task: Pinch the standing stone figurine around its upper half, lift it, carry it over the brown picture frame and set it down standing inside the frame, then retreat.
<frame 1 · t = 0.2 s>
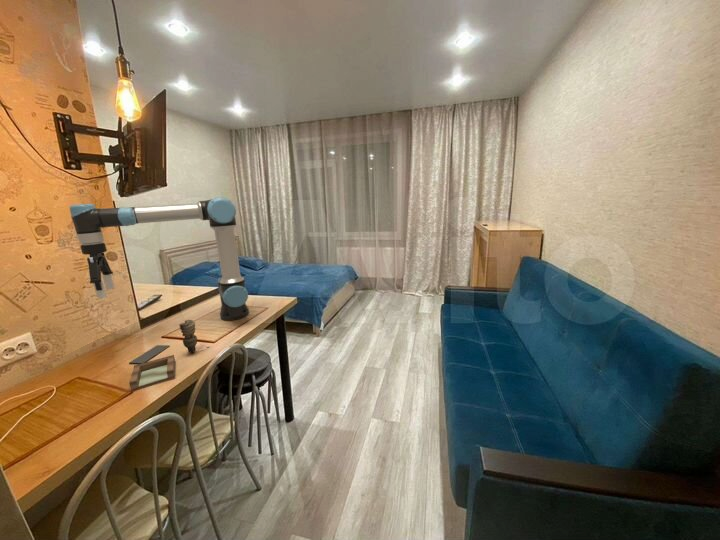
hand: (106, 293, 122), 28 cm above the table, fingers open, 13 cm apart
brown picture frame: (155, 375, 109), on the table
smartphone: (150, 355, 126), on the table
stone figurine: (193, 353, 125), on the table
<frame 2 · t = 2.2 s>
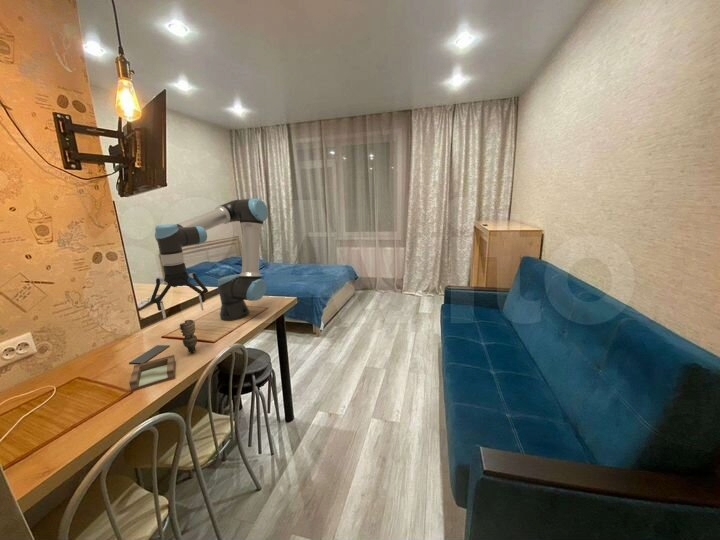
hand: (184, 313, 120), 18 cm above the table, fingers open, 13 cm apart
nothing on the table moved.
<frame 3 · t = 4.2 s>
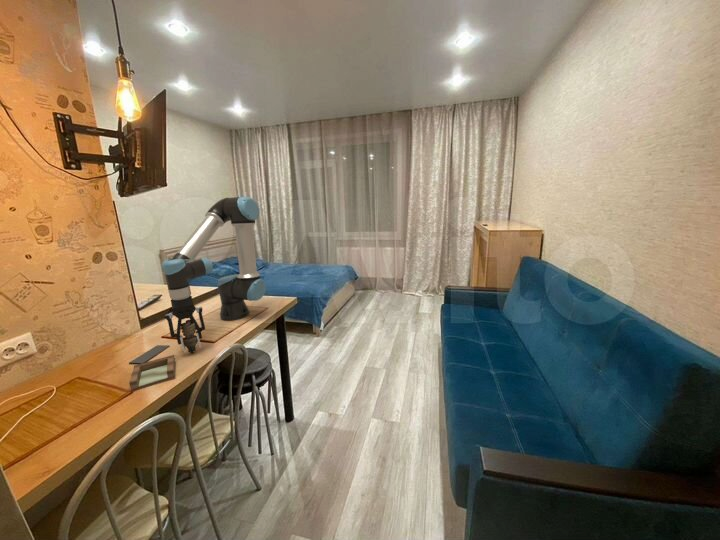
hand: (192, 348, 124), 2 cm above the table, fingers closed on stone figurine, 5 cm apart
stone figurine: (193, 353, 125), on the table, touching gripper
everything else where it was.
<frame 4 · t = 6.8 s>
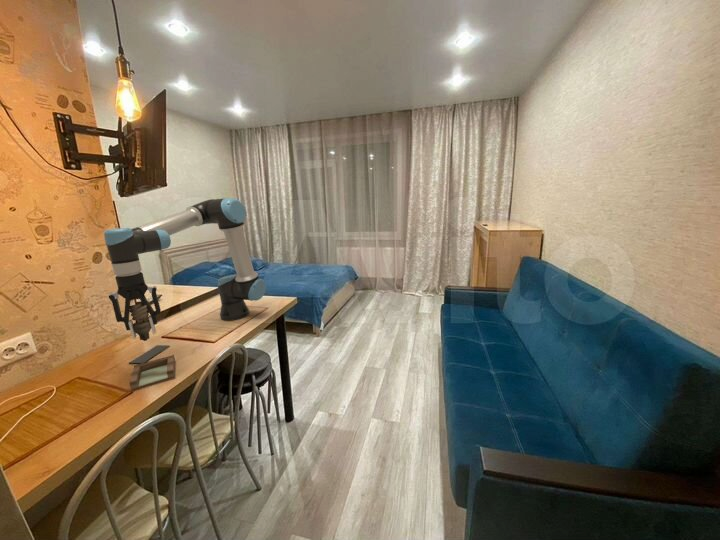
hand: (144, 335, 105), 17 cm above the table, fingers closed on stone figurine, 5 cm apart
stone figurine: (146, 341, 106), point 14 cm above the table, touching gripper
everything else where it was.
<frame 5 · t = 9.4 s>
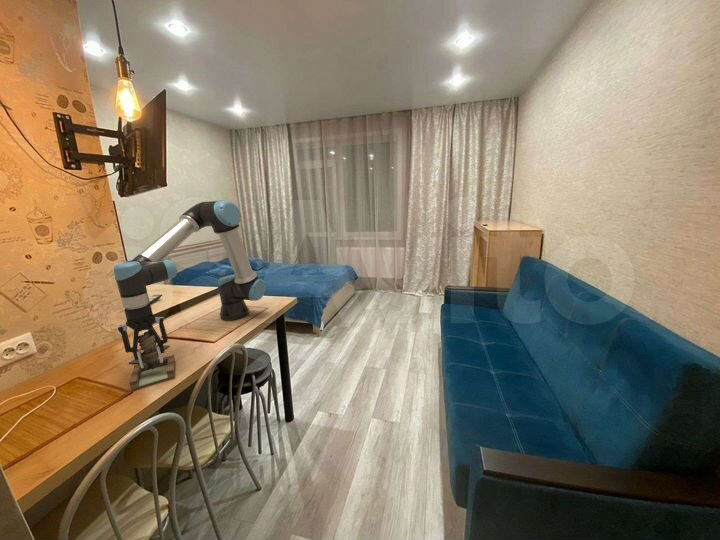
hand: (152, 363, 108), 5 cm above the table, fingers closed on stone figurine, 5 cm apart
stone figurine: (154, 369, 109), point 3 cm above the table, touching gripper
everything else where it was.
when the fingers open (5 cm above the table, at t = 9.5 s): stone figurine drops 2 cm, resting on brown picture frame.
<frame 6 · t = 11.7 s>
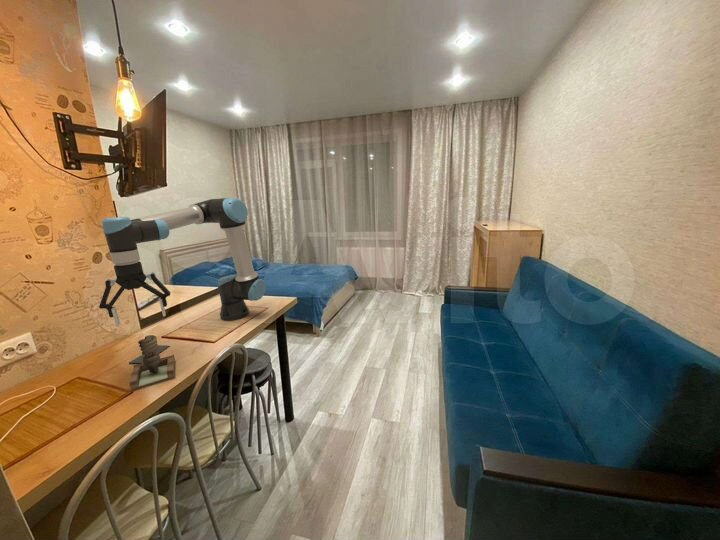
hand: (142, 320, 104), 23 cm above the table, fingers open, 13 cm apart
stone figurine: (155, 373, 109), point 1 cm above the table, touching brown picture frame
everything else where it was.
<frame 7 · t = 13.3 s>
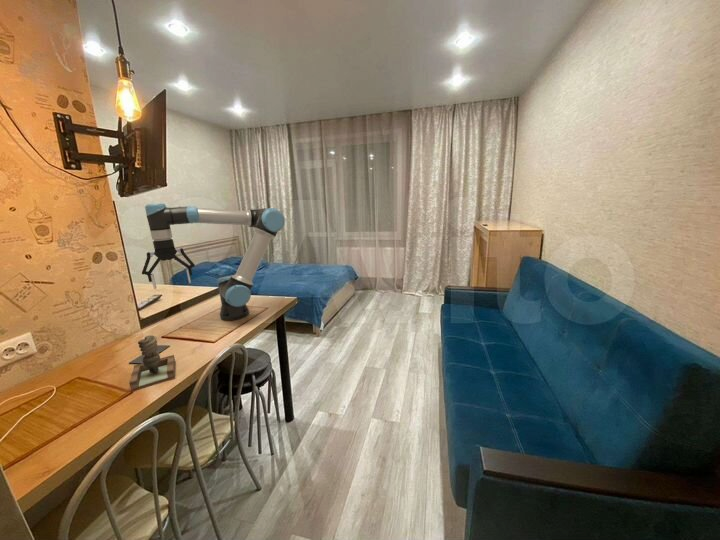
hand: (173, 285, 133), 27 cm above the table, fingers open, 13 cm apart
nothing on the table moved.
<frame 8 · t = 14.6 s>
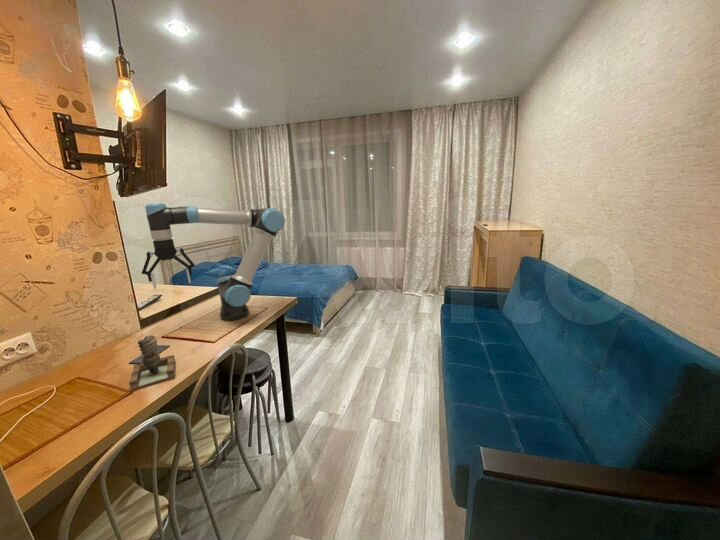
hand: (173, 285, 133), 27 cm above the table, fingers open, 13 cm apart
nothing on the table moved.
at the end: stone figurine inside the target area on the brown picture frame (0.8 cm from its centre), point 0.9 cm above the brown picture frame's base; stone figurine tilted 0°; the gripper is holding nothing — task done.
